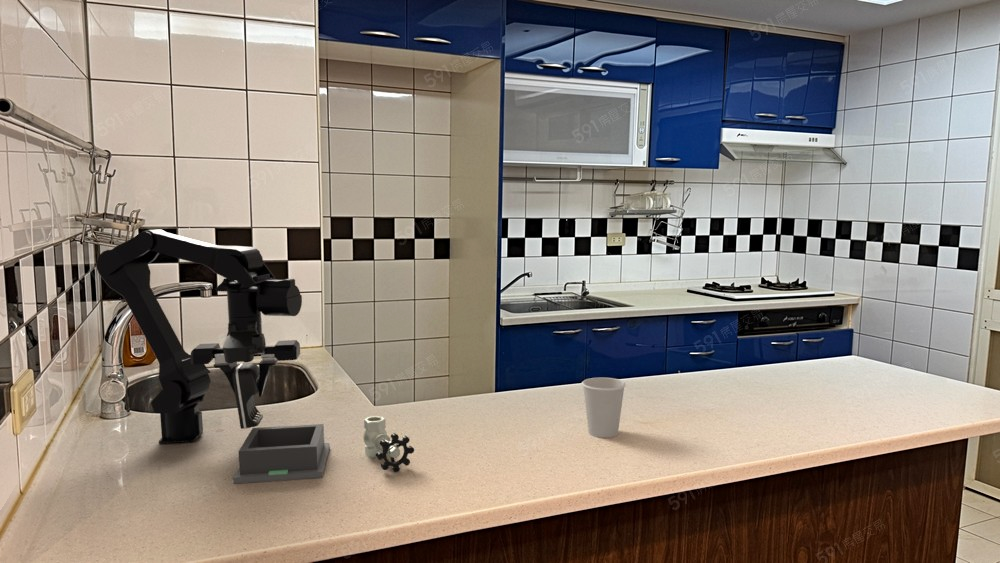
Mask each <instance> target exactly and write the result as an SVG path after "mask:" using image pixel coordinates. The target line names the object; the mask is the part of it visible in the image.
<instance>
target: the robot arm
mask: <svg viewBox="0 0 1000 563" xmlns="http://www.w3.org/2000/svg"><path fill="white" fill-rule="evenodd" d="M159 255H163V256H168V257H170V258H171V257H172V258H175V259H179V260H183V261H186V262H190V263H195V264H196V265H197V264H199V265H202V266H203V267H206V268H208V269H210V270H211V271H212V272H213V273H214V274H217V275H219V276H220V277H223V279H222V282H221V283H220V284H219V285H217V287H215V291H216V292H224V293H225V292H226V296H227V300H226V301H227V316H228V323H227V333H226V337H225V340H224V342H223V344H222V347H221V346H220V343H215V342H214V343H199V344H198V345H197V346H196V347H194V348H193V349H192V350H191V351H190V354H189V353H188V352H186V350H185V349H184V347H183V345H182V344H181V342H180V340H179V338H178V336H177V334H176V332H175V330H174V328H173V326H172V324H171V323H170V321H169V320H168V317H167V315H166V314H165V311H164V310H163V309H162V306H161V305H160V303H159V301H158V299H157V298H156V295H155V293H154V292H153V290H152V288H151V269H150V266H149V264H150V263H152V262H154V261H155V260H156V259H157V257H158V256H159ZM96 261H97V262H96V263H95V267H96V270H97V273H98V274H99V276H100V277H101V278H102V280H103V281H104V282H105V283H106V285H107V286H108V287H109V288H110V289H111V290H113V291H115V292H116V293H117V294H118V295H120V296H122V298H123V299H124V300H125V303H126V304H127V307H128V308H129V309H130V312H131V314H132V315H133V317H134V318H135V319H134V320H135V321H136V323H137V325H138V326H139V328H140V330H141V332H142V333H143V336H144V338H145V339H146V341H147V343H148V345H149V346H150V348H151V350H152V353H153V354H154V356H155V359H156V360H157V362H158V363H159V365H158V366H159V367H158V380H159V381H158V382H159V385H160V387H161V390H160V391H159V393H158V394H156V395H155V397H154V398H153V399H152V400H151V401H150V405H151V407H152V409H153V412H154V413H157V414H159V416H160V419H159V420H160V430H161V438H160V439H159V440H158V444H161V445H162V444H174V443H175V444H177V443H179V444H180V443H190V442H191V443H192V442H195V441H197V439H198V438H199V437H200V435H201V434H202V433H203V431H204V424H203V411H201V410H199V403H201V402H203V401H204V398H205V395H206V393H207V392H208V390H209V388H210V384H211V382H212V381H211V377H210V375H209V374H211V371H210V370H209V369H208V367H207V366H206V365H209V364H210V363H211V361H213V360H214V364H213V368H214V369H215V368H216V369H219V370H221V371H222V372H223V373H224V375H225V376H226V379H227V380H228V382H229V384H230V387H231V389H232V391H233V393H234V395H235V390H234V384H233V370H234V369H235V368H236V367H237V366H238V363H239V362H240V363H241V362H243V363H244V364H247V363H252V362H253V361H254V357H261V360H260V362H259V363H258V368H259V391H258V397H259V398H260V397H261V398H262V396H263V394H264V390H265V387H266V384H267V380H268V377H269V374H270V372H271V369H272V366H275V365H277V364H278V363H279V361H280V362H281V361H296V360H298V358H299V356H300V355H301V345H300V342H299V341H298V340H296V339H291V340H289V339H288V340H287V339H285V340H278V341H277V342H276V343H275V344H274V345H267V344H266V338H265V334H264V333H263V328H262V326H263V325H262V323H263V322H262V321H263V320H262V315H264V316H268V317H269V316H270V317H275V316H276V317H297V315H299V313H300V311H301V309H302V305H303V304H302V303H303V297H302V294H301V292H300V291H301V290H300V289H299V287H298V286H297V285H296V279H294V278H285V279H277V277H276V276H275V275H274V274H273V272H272V271H271V270H270V269H269V267H268V266H267V264H266V263H265V261H264V258H263V256H262V254H261V252H260V250H258V248H256V247H254V246H243V245H219V244H218V245H217V244H214V243H209V242H206V241H201V240H199V239H194V238H191V237H186V236H183V235H179V234H174V233H171V232H167V231H165V230H163V229H159V228H156V229H145V230H142V231H141V232H139V233H138V234H136V235H135V236H134V237H132V238H130V239H128V240H125V241H124V242H122V243H120V244H119V245H116V246H114V247H113V248H112V249H106V250H104V251H102V252H101V253H100V254H99V255H98V257H97V260H96Z"/></svg>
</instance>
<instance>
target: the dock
mask: <svg viewBox="0 0 1000 563" xmlns="http://www.w3.org/2000/svg"><path fill="white" fill-rule="evenodd" d="M324 426H325V425H324V423H316V424H299V425H298V424H297V425H281V426H264V427H251V430H250V432H249V433H248V435H247V437H246V438H245V440H244V441H243V443H242V445H241V446H240V448H239V450H238V468H237V471H236V472H235V474H234V476H233V477H232V479H233V484H245V483H246V484H248V483H261V482H262V483H264V482H278V481H291V480H304V479H306V480H310V479H321V478H322V479H323V476H324V472H325V468H326V464H327V460H328V456H329V452H330V442H325V430H324V428H325V427H324Z"/></svg>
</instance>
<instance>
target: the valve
mask: <svg viewBox="0 0 1000 563" xmlns="http://www.w3.org/2000/svg"><path fill="white" fill-rule="evenodd" d="M363 423H364V424H363V427H364V429H365V430H364V432H363V442H364V454H365V455H366V456H367V457H368V458H376V459H377V460H378V461H383V463H380V468H381V469H382V470H383V471H388V470H389V467H391V471H392V472H394V473H398V472H399V471H400V465H402V464H403V465H404V466H407V467H408V466H409V465H410V463H411V460H410V459H409V458H408V455H409V454H413V453H414V452H415V448H414V447H413V446H412V445H407V444H408V443H410V437H408V436H407V435H403V436H402V437H401V438H402V439H399V438H400V437H399V434H397V433H396V432H393V433H391V435H388V432H387V430H386V419H385V418H384V417H383V416H379V415H373V416H368V417H366V418H365V419H363ZM400 447H402V448H403V454H402V457H400V459H399V460H397V461H396V459H397V458H399V456H401V450H400ZM387 456H389V457H390V461H389V460H388V457H387Z"/></svg>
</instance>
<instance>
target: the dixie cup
mask: <svg viewBox="0 0 1000 563" xmlns="http://www.w3.org/2000/svg"><path fill="white" fill-rule="evenodd" d="M581 386H582V388H583V397H584V404H585V414H586V420H587V428H588V429H587V430H588V434H589V435H590V436H592V437H595V438H601V439H610V438H615V437H616V436H618V434H619V428H620V423H621V413H622V407H623V400H624V399H623V398H624V393H625V392H624V391H625V387H626V386H627V384H626V383H625V382H624V381H623V380H621V379H619V378H614V377H592V378H586V379H584V380H583V381H581Z"/></svg>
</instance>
